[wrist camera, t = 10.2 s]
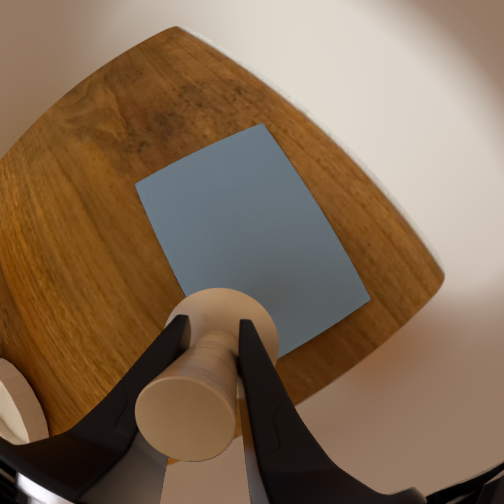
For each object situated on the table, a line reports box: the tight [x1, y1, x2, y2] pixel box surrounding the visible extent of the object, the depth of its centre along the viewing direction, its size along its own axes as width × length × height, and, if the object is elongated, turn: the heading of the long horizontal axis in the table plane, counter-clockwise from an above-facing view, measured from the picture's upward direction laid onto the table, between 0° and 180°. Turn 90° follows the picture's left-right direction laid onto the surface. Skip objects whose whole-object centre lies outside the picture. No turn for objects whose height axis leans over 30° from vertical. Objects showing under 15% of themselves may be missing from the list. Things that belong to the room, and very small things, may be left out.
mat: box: [135, 123, 371, 359], centre depth 23 cm, size 20×14×1 cm
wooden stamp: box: [135, 288, 279, 462], centre depth 10 cm, size 6×6×12 cm
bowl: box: [0, 358, 49, 445], centre depth 17 cm, size 13×13×4 cm
